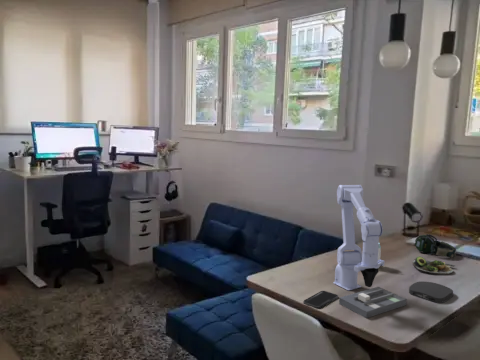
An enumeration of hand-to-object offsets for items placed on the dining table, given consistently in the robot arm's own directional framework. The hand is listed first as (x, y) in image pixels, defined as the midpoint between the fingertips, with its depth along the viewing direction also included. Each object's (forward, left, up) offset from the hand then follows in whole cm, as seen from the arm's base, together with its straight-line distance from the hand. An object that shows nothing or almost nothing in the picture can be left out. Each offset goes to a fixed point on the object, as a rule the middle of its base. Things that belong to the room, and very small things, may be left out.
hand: (368, 286), depth 165 cm
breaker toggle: (0, -2, -5) cm, 6 cm away
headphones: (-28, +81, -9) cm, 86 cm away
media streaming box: (+5, +32, -9) cm, 34 cm away
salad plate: (-14, +59, -9) cm, 61 cm away
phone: (-13, -12, -9) cm, 20 cm away
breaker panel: (0, +3, -8) cm, 9 cm away
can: (-30, +36, -8) cm, 48 cm away
